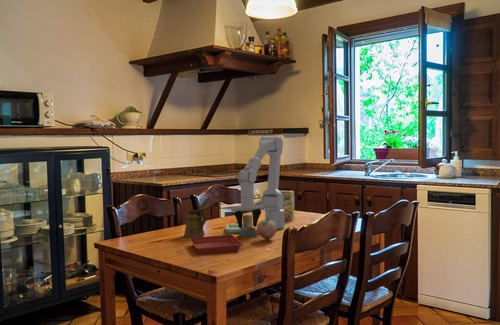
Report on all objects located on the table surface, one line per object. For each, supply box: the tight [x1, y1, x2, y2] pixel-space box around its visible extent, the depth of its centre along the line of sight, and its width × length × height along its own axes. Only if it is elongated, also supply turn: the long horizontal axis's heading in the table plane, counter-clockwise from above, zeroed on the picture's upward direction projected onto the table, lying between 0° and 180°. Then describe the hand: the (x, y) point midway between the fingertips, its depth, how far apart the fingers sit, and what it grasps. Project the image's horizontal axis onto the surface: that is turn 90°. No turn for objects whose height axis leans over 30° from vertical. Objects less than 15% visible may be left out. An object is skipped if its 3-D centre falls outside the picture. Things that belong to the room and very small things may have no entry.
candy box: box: [279, 190, 295, 222], centre depth 240 cm, size 9×4×15 cm, turn 70°
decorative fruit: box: [256, 217, 278, 241], centre depth 193 cm, size 9×8×10 cm
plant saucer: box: [189, 234, 243, 255], centre depth 181 cm, size 18×18×3 cm
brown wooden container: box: [183, 196, 212, 238], centre depth 202 cm, size 9×14×18 cm, turn 61°
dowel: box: [242, 214, 253, 230], centre depth 202 cm, size 4×4×9 cm
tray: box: [225, 223, 243, 235], centre depth 213 cm, size 11×12×2 cm
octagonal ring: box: [239, 227, 257, 239], centre depth 202 cm, size 7×7×3 cm
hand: (247, 227), depth 202 cm, fingers open, 6 cm apart
